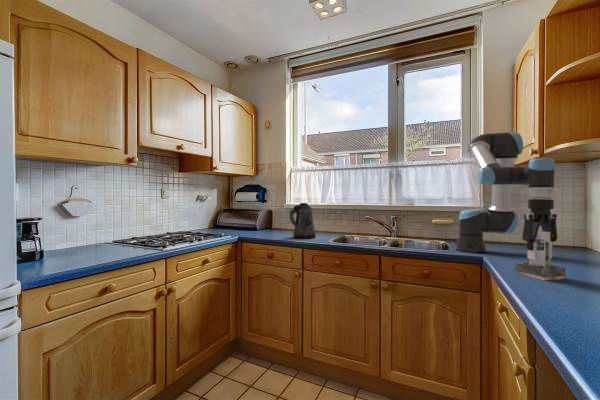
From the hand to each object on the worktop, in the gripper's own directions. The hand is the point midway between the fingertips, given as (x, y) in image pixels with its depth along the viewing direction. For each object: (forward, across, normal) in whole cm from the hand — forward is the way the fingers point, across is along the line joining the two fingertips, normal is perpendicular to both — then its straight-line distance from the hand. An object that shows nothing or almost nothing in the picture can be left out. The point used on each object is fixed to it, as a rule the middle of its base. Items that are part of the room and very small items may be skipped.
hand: (539, 258), depth 110 cm
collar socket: (+7, 0, 0) cm, 7 cm away
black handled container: (+7, -61, +117) cm, 132 cm away
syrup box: (+4, 0, 0) cm, 4 cm away
